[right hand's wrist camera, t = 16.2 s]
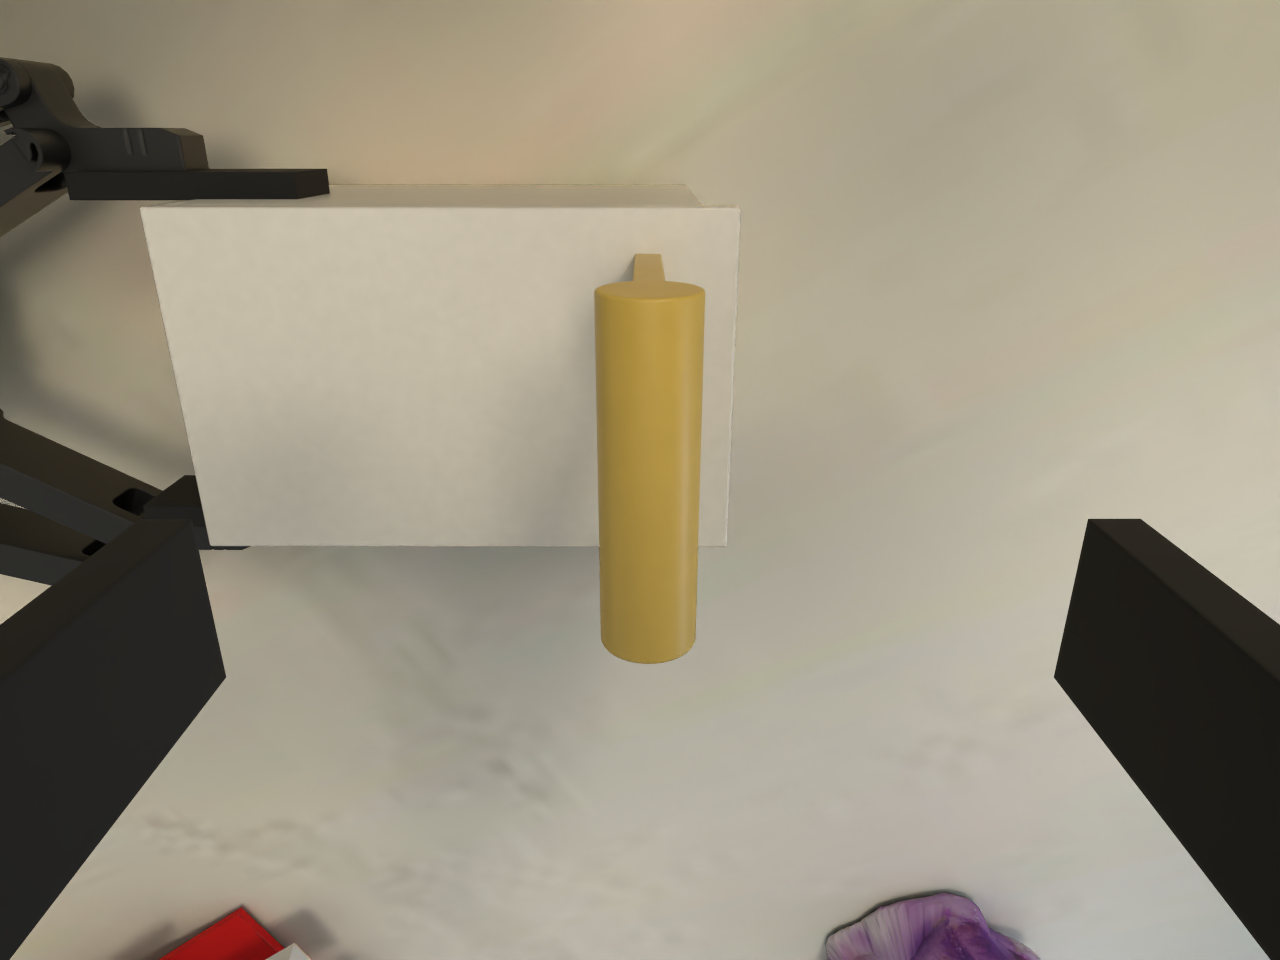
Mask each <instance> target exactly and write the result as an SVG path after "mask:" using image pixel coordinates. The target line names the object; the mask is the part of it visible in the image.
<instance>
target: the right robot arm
mask: <svg viewBox="0 0 1280 960" xmlns="http://www.w3.org/2000/svg"><path fill="white" fill-rule="evenodd" d="M225 678H226V675H225V670H224V665H223V661H222V656H221V651H220V647H219V642H218V638H217V633H216V628H215V624H214V619H213V615H212V610H211V605H210V601H209V596H208V592H207V587H206V582H205V578H204V573H203V568H202V564H201V559H200V555H199V550H198V545H197V541H196V536H195V532H194V527H193V522H192V519H139V520H137V521H136V522H135V523H133V524H132V525H131V526H130V527H128V528H127V529H126V530H124V531H123V532H122V533H120V534H119V535H118V536H116V537H115V538H114V539H112V540H111V541H110V542H109V543H107V544H106V545H105V546H103V547H102V548H101V549H99V550H98V551H97V552H95V553H94V554H93V555H91V556H90V557H89V558H88V559H86V560H85V561H84V562H82V563H81V564H80V565H78V566H77V567H76V568H74V569H73V570H72V571H70V572H69V573H68V574H67V575H65V576H64V577H63V578H61V579H60V580H59V581H57V582H56V583H55V584H53V585H52V586H51V587H49V588H48V589H47V590H46V591H44V592H43V593H42V594H40V595H39V596H38V597H36V598H35V599H34V600H32V601H31V602H30V603H28V604H27V605H26V606H25V607H23V608H22V609H21V610H19V611H18V612H17V613H15V614H14V615H13V616H11V617H10V618H9V619H7V620H6V621H5V622H4V623H2V624H1V625H0V960H10V958H11V957H12V956H13V954H14V953H15V952H16V950H17V949H18V948H19V947H20V945H21V944H22V943H23V941H24V940H25V939H26V937H27V936H28V935H29V933H30V932H31V931H32V930H33V928H34V927H35V926H36V924H37V923H38V922H39V920H40V919H41V918H42V917H43V915H44V914H45V913H46V911H47V910H48V909H49V907H50V906H51V905H52V904H53V902H54V901H55V900H56V898H57V897H58V896H59V894H60V893H61V892H62V890H63V889H64V888H65V887H66V885H67V884H68V883H69V881H70V880H71V879H72V877H73V876H74V875H75V874H76V872H77V871H78V870H79V868H80V867H81V866H82V864H83V863H84V862H85V861H86V859H87V858H88V857H89V855H90V854H91V853H92V851H93V850H94V849H95V847H96V846H97V845H98V844H99V842H100V841H101V840H102V838H103V837H104V836H105V834H106V833H107V832H108V831H109V829H110V828H111V827H112V825H113V824H114V823H115V821H116V820H117V819H118V817H119V816H120V815H121V814H122V812H123V811H124V810H125V808H126V807H127V806H128V804H129V803H130V802H131V801H132V799H133V798H134V797H135V795H136V794H137V793H138V791H139V790H140V789H141V788H142V786H143V785H144V784H145V782H146V781H147V780H148V778H149V777H150V776H151V774H152V773H153V772H154V771H155V769H156V768H157V767H158V765H159V764H160V763H161V761H162V760H163V759H164V758H165V756H166V755H167V754H168V752H169V751H170V750H171V748H172V747H173V746H174V744H175V743H176V742H177V741H178V739H179V738H180V737H181V735H182V734H183V733H184V731H185V730H186V729H187V728H188V726H189V725H190V724H191V722H192V721H193V720H194V718H195V717H196V716H197V715H198V713H199V712H200V711H201V709H202V708H203V707H204V705H205V704H206V703H207V701H208V700H209V699H210V698H211V696H212V695H213V694H214V692H215V691H216V690H217V688H218V687H219V686H220V685H221V683H222V682H223V681H224V679H225ZM1054 678H1055V679H1056V681H1057V682H1058V683H1059V685H1060V686H1061V687H1062V688H1063V690H1064V691H1065V692H1066V694H1067V695H1068V696H1069V698H1070V699H1071V700H1072V701H1073V703H1074V704H1075V705H1076V707H1077V708H1078V709H1079V711H1080V712H1081V713H1082V715H1083V716H1084V717H1085V718H1086V720H1087V721H1088V722H1089V724H1090V725H1091V726H1092V728H1093V729H1094V730H1095V731H1096V733H1097V734H1098V735H1099V737H1100V738H1101V739H1102V741H1103V742H1104V743H1105V744H1106V746H1107V747H1108V748H1109V750H1110V751H1111V752H1112V754H1113V755H1114V756H1115V758H1116V759H1117V760H1118V761H1119V763H1120V764H1121V765H1122V767H1123V768H1124V769H1125V771H1126V772H1127V773H1128V774H1129V776H1130V777H1131V778H1132V780H1133V781H1134V782H1135V784H1136V785H1137V786H1138V788H1139V789H1140V790H1141V791H1142V793H1143V794H1144V795H1145V797H1146V798H1147V799H1148V801H1149V802H1150V803H1151V804H1152V806H1153V807H1154V808H1155V810H1156V811H1157V812H1158V814H1159V815H1160V816H1161V817H1162V819H1163V820H1164V821H1165V823H1166V824H1167V825H1168V827H1169V828H1170V829H1171V831H1172V832H1173V833H1174V834H1175V836H1176V837H1177V838H1178V840H1179V841H1180V842H1181V844H1182V845H1183V846H1184V847H1185V849H1186V850H1187V851H1188V853H1189V854H1190V855H1191V857H1192V858H1193V859H1194V861H1195V862H1196V863H1197V864H1198V866H1199V867H1200V868H1201V870H1202V871H1203V872H1204V874H1205V875H1206V876H1207V877H1208V879H1209V880H1210V881H1211V883H1212V884H1213V885H1214V887H1215V888H1216V889H1217V890H1218V892H1219V893H1220V894H1221V896H1222V897H1223V898H1224V900H1225V901H1226V902H1227V904H1228V905H1229V906H1230V907H1231V909H1232V910H1233V911H1234V913H1235V914H1236V915H1237V917H1238V918H1239V919H1240V920H1241V922H1242V923H1243V924H1244V926H1245V927H1246V928H1247V930H1248V931H1249V932H1250V934H1251V935H1252V936H1253V937H1254V939H1255V940H1256V941H1257V943H1258V944H1259V945H1260V947H1261V948H1262V949H1263V950H1264V952H1265V953H1266V954H1267V956H1268V957H1269V958H1270V960H1280V625H1279V624H1278V623H1276V622H1275V621H1274V620H1273V619H1271V618H1270V617H1269V616H1267V615H1266V614H1265V613H1263V612H1262V611H1261V610H1259V609H1258V608H1257V607H1255V606H1254V605H1253V604H1252V603H1250V602H1249V601H1248V600H1246V599H1245V598H1244V597H1242V596H1241V595H1240V594H1238V593H1237V592H1236V591H1234V590H1233V589H1232V588H1231V587H1229V586H1228V585H1227V584H1225V583H1224V582H1223V581H1221V580H1220V579H1219V578H1217V577H1216V576H1215V575H1213V574H1212V573H1211V572H1210V571H1208V570H1207V569H1206V568H1204V567H1203V566H1202V565H1200V564H1199V563H1198V562H1196V561H1195V560H1194V559H1192V558H1191V557H1190V556H1189V555H1187V554H1186V553H1185V552H1183V551H1182V550H1181V549H1179V548H1178V547H1177V546H1175V545H1174V544H1173V543H1171V542H1170V541H1169V540H1168V539H1166V538H1165V537H1164V536H1162V535H1161V534H1160V533H1158V532H1157V531H1156V530H1154V529H1153V528H1152V527H1150V526H1149V525H1148V524H1147V523H1145V522H1144V521H1143V520H1141V519H1088V522H1087V527H1086V531H1085V536H1084V541H1083V545H1082V550H1081V555H1080V559H1079V564H1078V568H1077V573H1076V578H1075V582H1074V587H1073V591H1072V596H1071V601H1070V605H1069V610H1068V615H1067V619H1066V624H1065V628H1064V633H1063V638H1062V642H1061V647H1060V651H1059V656H1058V661H1057V665H1056V670H1055V675H1054Z"/></svg>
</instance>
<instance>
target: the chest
mask: <svg viewBox="0 0 1280 960" xmlns="http://www.w3.org/2000/svg"><path fill="white" fill-rule="evenodd" d="M329 190H330V194H324V195H319V196H313V197H307V198H302V199H194V200H187V201H180V202H172V203H165V204H159V205H702V203H701V202H700V201H699V200H698V199H697V198H696V197H695V195H694V194H693V193H692V192H691V191H690V190H689V189H688V187H687V186H686V185H329Z"/></svg>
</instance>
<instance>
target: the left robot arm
mask: <svg viewBox="0 0 1280 960" xmlns="http://www.w3.org/2000/svg"><path fill="white" fill-rule="evenodd" d="M73 97H74V85H73V82H72V79H71V78H70V76H69V75H68V73H67V72H66V71H64V70H63V69H62V68H61V67H59V66H56V65H54V64H49V63H41V62H33V61H25V60H17V59H9V58H1V57H0V127H1V126H5V125H8V124H11V123H12V125H13V126H14V128H9V129H7V130H4V131H5V133H6V134H16V136H15V137H13V138H12V139H10V140H9V141H7V142H6V143H4V144H3V145H2V146H0V237H1V236H3V235H4V234H6V233H7V232H8V231H10V230H11V229H13V228H14V227H16V226H17V225H19V224H20V223H22V222H23V221H25V220H26V219H28V218H29V217H31V216H32V215H34V214H35V213H37V212H38V211H40V210H41V209H43V208H44V207H46V206H47V205H49V204H50V203H52V202H53V201H55V200H56V199H58V198H59V197H61V196H62V195H64V194H65V193H67V192H68V193H69V197H70V200H194V199H302V198H307V197H313V196H319V195H324V194H330V190H329V182H328V175H327V169H209V167H208V161H207V156H206V150H205V145H204V139H203V136H202V135H200V134H197V133H195V132H192V131H190V130H187V129H184V128H101V127H98V126H95V125H93V124H92V123H90V122H89V121H88V120H87V119H86V118H85V117H84V116H83V115H82V114H81V112H80V111H79V110H78V108H77V106H76V104H75V102H74V101H73ZM0 497H1V498H3V499H5V500H8V501H10V502H12V503H14V504H17V505H19V506H21V507H24V508H26V509H23V508H19V507H14V506H10V505H6V504H1V503H0V574H3V575H7V576H12V577H16V578H21V579H25V580H30V581H34V582H39V583H43V584H48V585H53V584H55V583H56V582H57V581H59V580H60V579H61V578H63V577H64V576H65V575H67V574H68V573H69V572H70V571H72V570H73V569H74V568H76V567H77V566H78V565H80V564H81V563H82V562H84V561H85V560H86V559H88V558H89V557H90V556H91V555H93V554H94V553H95V552H97V551H98V550H99V549H101V548H102V547H103V546H105V545H106V544H107V543H109V542H110V541H111V540H112V539H114V538H115V537H116V536H118V535H119V534H120V533H122V532H123V531H124V530H126V529H127V528H128V527H130V526H131V525H132V524H133V523H135V522H136V521H137V520H139V519H192V522H193V527H194V532H195V536H196V541H197V545H198V550H212V549H214V550H224V549H226V550H243V549H245V548H248V547H250V546H211V545H210V542H209V537H208V533H207V528H206V523H205V518H204V514H203V509H202V504H201V499H200V495H199V490H198V485H197V480H196V476H192V475H184V476H183V477H182V478H180V479H179V480H178V481H176V482H175V483H174V484H172V485H171V486H169V487H168V488H167V489H165V490H164V491H162V490H159V489H157V488H155V487H153V486H151V485H148V484H146V483H144V482H142V481H140V480H137V479H135V478H133V477H131V476H129V475H126V474H124V473H122V472H120V471H118V470H115V469H113V468H111V467H109V466H107V465H105V464H102V463H100V462H98V461H96V460H94V459H91V458H89V457H87V456H85V455H83V454H80V453H78V452H76V451H74V450H72V449H69V448H67V447H65V446H63V445H61V444H58V443H56V442H54V441H52V440H50V439H47V438H45V437H43V436H41V435H39V434H36V433H34V432H32V431H30V430H28V429H25V428H23V427H21V426H19V425H17V424H14V423H12V422H10V421H8V420H6V419H5V418H4V417H3V411H2V410H1V409H0ZM27 509H28V510H27Z"/></svg>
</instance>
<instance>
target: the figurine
mask: <svg viewBox="0 0 1280 960" xmlns="http://www.w3.org/2000/svg"><path fill="white" fill-rule="evenodd" d="M826 949H827V952H828V958H829V960H1041V959H1040V958H1039V956H1038V955H1037V954H1036V953H1035V952H1033V951H1032V950H1031V949H1030V948H1028V947H1027V946H1025V945H1023V944H1021V943H1019V942H1017V941H1015V940H1014V939H1012V938H1009V937H1007V936H1004V935H1002V934H1000V933H998V932H996V931H993V930H992V929H990V928H989V927H988V926H987V924H986V921H985V919H984V917H983V915H982V913H981V911H980V909H979V908H978V907H977V905H976V904H975V903H974V902H972V901H970V900H969V899H967V898H966V897H961V896H957V895H954V894H951V893H939V894H936V895H932V896H927V897H921V898H916V899H910V900H904V901H900V902H896V903H893V904H890V905H887V906H884V907H882V906H880V907H879V908H878V909H877V910H876V911H874V912H872V913H871V914H869V915H868V916H866V917H865V918H863V919H862V920H861V922H858V923H855V924H854V925H852V926H848V927H846V928H845V929H841V930H839V931H838V932H836V933H835V934H833V935H831V936H830V937H829V938H828V941H827V943H826Z"/></svg>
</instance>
